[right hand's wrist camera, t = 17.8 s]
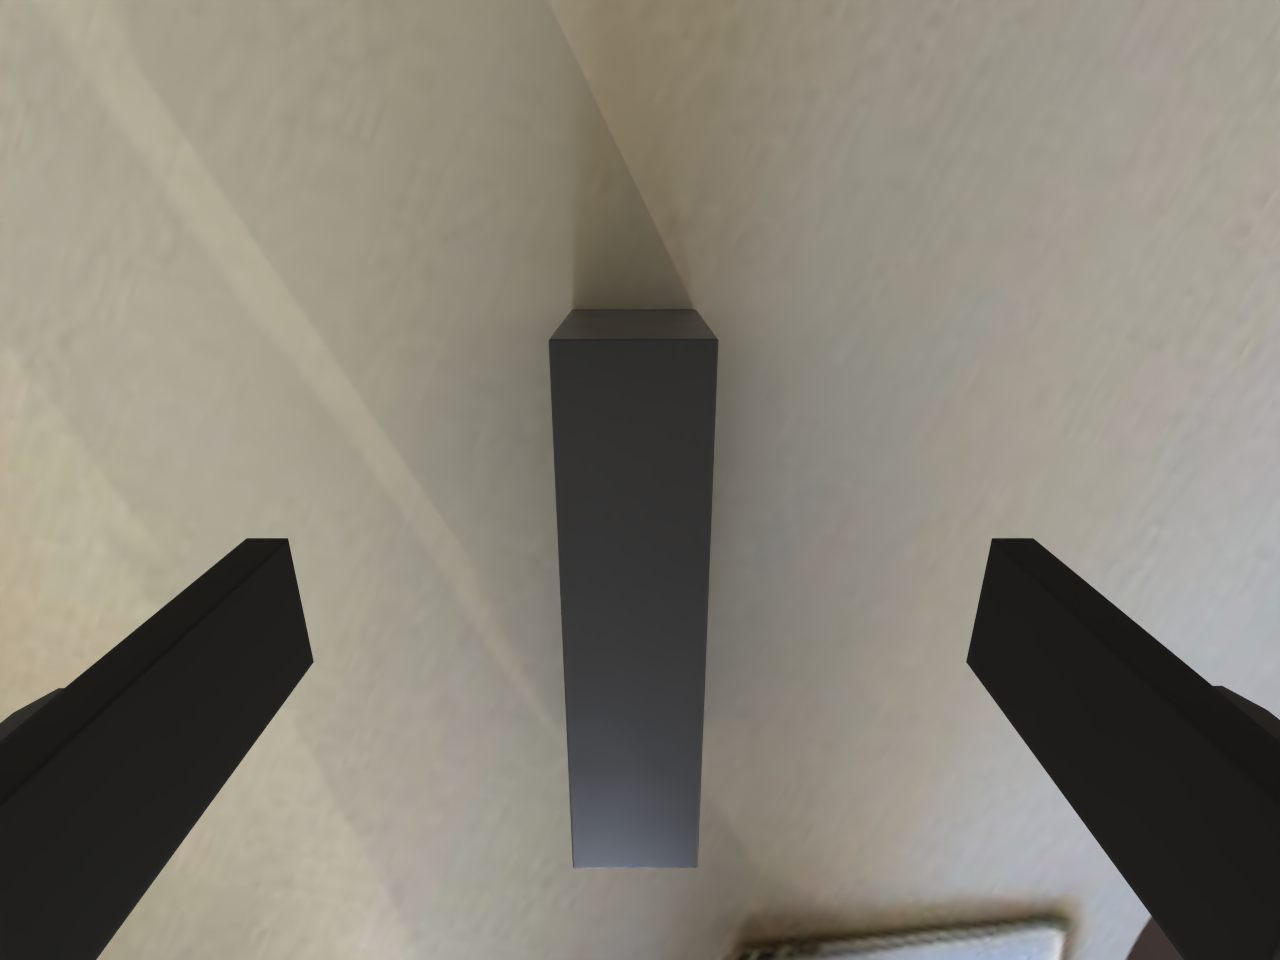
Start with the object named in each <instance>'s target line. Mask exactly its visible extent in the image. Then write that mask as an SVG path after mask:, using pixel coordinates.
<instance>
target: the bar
mask: <svg viewBox="0 0 1280 960" xmlns="http://www.w3.org/2000/svg"><path fill="white" fill-rule="evenodd" d="M549 357H550V379H551V400H552V422H553V444H554V465H555V487H556V509H557V530H558V552H559V573H560V595H561V617H562V638H563V660H564V682H565V703H566V725H567V747H568V768H569V790H570V812H571V833H572V855H573V868H696V867H697V866H698V845H699V820H700V794H701V769H702V743H703V718H704V692H705V667H706V641H707V616H708V591H709V565H710V540H711V514H712V489H713V463H714V438H715V412H716V387H717V362H718V339H717V338H716V336H715V335H714V334H713V332H712V331H711V330H710V328H709V327H708V326H707V324H706V323H705V322H704V320H703V319H702V318H701V316H700V315H699V314H698V312H697V311H696V310H572V311H571V312H570V313H569V315H568V316H567V317H566V319H565V320H564V321H563V322H562V324H561V325H560V326H559V328H558V329H557V330H556V332H555V333H554V334H553V335H552V337H551V338H550V339H549Z"/></svg>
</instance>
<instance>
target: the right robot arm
mask: <svg viewBox="0 0 1280 960" xmlns="http://www.w3.org/2000/svg"><path fill="white" fill-rule="evenodd" d="M312 663H313V657H312V652H311V647H310V642H309V637H308V633H307V628H306V623H305V618H304V613H303V609H302V604H301V599H300V594H299V589H298V585H297V580H296V575H295V570H294V565H293V561H292V556H291V551H290V546H289V541H288V538H247V539H246V540H244V541H243V542H242V543H241V544H239V545H238V546H237V547H236V548H235V549H233V550H232V551H231V552H230V553H229V554H227V555H226V556H225V557H224V558H222V559H221V560H220V561H219V562H218V563H216V564H215V565H214V566H213V567H211V568H210V569H209V570H208V571H207V572H205V573H204V574H203V575H202V576H201V577H199V578H198V579H197V580H196V581H194V582H193V583H192V584H191V585H190V586H188V587H187V588H186V589H185V590H184V591H182V592H181V593H180V594H179V595H177V596H176V597H175V598H174V599H173V600H171V601H170V602H169V603H168V604H166V605H165V606H164V607H163V608H162V609H160V610H159V611H158V612H157V613H156V614H154V615H153V616H152V617H151V618H149V619H148V620H147V621H146V622H145V623H143V624H142V625H141V626H140V627H139V628H137V629H136V630H135V631H134V632H132V633H131V634H130V635H129V636H128V637H126V638H125V639H124V640H123V641H121V642H120V643H119V644H118V645H117V646H115V647H114V648H113V649H112V650H111V651H109V652H108V653H107V654H106V655H104V656H103V657H102V658H101V659H100V660H98V661H97V662H96V663H95V664H94V665H92V666H91V667H90V668H89V669H87V670H86V671H85V672H84V673H83V674H81V675H80V676H79V677H78V678H76V679H75V680H74V681H73V682H72V683H70V684H69V685H68V686H67V687H66V688H58V689H56V690H55V691H53V692H51V693H49V694H47V695H45V696H44V697H42V698H40V699H38V700H36V701H34V702H32V703H31V704H29V705H27V706H25V707H23V708H21V709H20V710H18V711H16V712H14V713H13V714H11V715H10V716H9V717H8V718H6V719H5V720H4V721H3V722H1V723H0V960H96V959H97V958H98V956H99V955H100V954H101V952H102V951H103V950H104V948H105V947H106V946H107V944H108V943H109V941H110V940H111V939H112V937H113V936H114V935H115V933H116V932H117V930H118V929H119V928H120V926H121V925H122V924H123V922H124V921H125V920H126V918H127V917H128V915H129V914H130V913H131V911H132V910H133V909H134V907H135V906H136V904H137V903H138V902H139V900H140V899H141V898H142V896H143V895H144V893H145V892H146V891H147V889H148V888H149V887H150V885H151V884H152V883H153V881H154V880H155V878H156V877H157V876H158V874H159V873H160V872H161V870H162V869H163V867H164V866H165V865H166V863H167V862H168V861H169V859H170V858H171V857H172V855H173V854H174V852H175V851H176V850H177V848H178V847H179V846H180V844H181V843H182V841H183V840H184V839H185V837H186V836H187V835H188V833H189V832H190V831H191V829H192V828H193V826H194V825H195V824H196V822H197V821H198V820H199V818H200V817H201V815H202V814H203V813H204V811H205V810H206V809H207V807H208V806H209V805H210V803H211V802H212V800H213V799H214V798H215V796H216V795H217V794H218V792H219V791H220V789H221V788H222V787H223V785H224V784H225V783H226V781H227V780H228V778H229V777H230V776H231V774H232V773H233V772H234V770H235V769H236V768H237V766H238V765H239V763H240V762H241V761H242V759H243V758H244V757H245V755H246V754H247V752H248V751H249V750H250V748H251V747H252V746H253V744H254V743H255V742H256V740H257V739H258V737H259V736H260V735H261V733H262V732H263V731H264V729H265V728H266V726H267V725H268V724H269V722H270V721H271V720H272V718H273V717H274V716H275V714H276V713H277V711H278V710H279V709H280V707H281V706H282V705H283V703H284V702H285V700H286V699H287V698H288V696H289V695H290V694H291V692H292V691H293V690H294V688H295V687H296V685H297V684H298V683H299V681H300V680H301V679H302V677H303V676H304V674H305V673H306V672H307V670H308V669H309V668H310V666H311V665H312ZM967 663H968V665H969V666H970V668H971V669H972V670H973V672H974V673H975V674H976V676H977V677H978V679H979V680H980V681H981V683H982V684H983V685H984V687H985V688H986V690H987V691H988V692H989V694H990V695H991V696H992V698H993V699H994V700H995V702H996V703H997V705H998V706H999V707H1000V709H1001V710H1002V711H1003V713H1004V714H1005V716H1006V717H1007V718H1008V720H1009V721H1010V722H1011V724H1012V725H1013V726H1014V728H1015V729H1016V731H1017V732H1018V733H1019V735H1020V736H1021V737H1022V739H1023V740H1024V742H1025V743H1026V744H1027V746H1028V747H1029V748H1030V750H1031V751H1032V752H1033V754H1034V755H1035V757H1036V758H1037V759H1038V761H1039V762H1040V763H1041V765H1042V766H1043V768H1044V769H1045V770H1046V772H1047V773H1048V774H1049V776H1050V777H1051V778H1052V780H1053V781H1054V783H1055V784H1056V785H1057V787H1058V788H1059V789H1060V791H1061V792H1062V794H1063V795H1064V796H1065V798H1066V799H1067V800H1068V802H1069V803H1070V805H1071V806H1072V807H1073V809H1074V810H1075V811H1076V813H1077V814H1078V815H1079V817H1080V818H1081V820H1082V821H1083V822H1084V824H1085V825H1086V826H1087V828H1088V829H1089V831H1090V832H1091V833H1092V835H1093V836H1094V837H1095V839H1096V840H1097V841H1098V843H1099V844H1100V846H1101V847H1102V848H1103V850H1104V851H1105V852H1106V854H1107V855H1108V857H1109V858H1110V859H1111V861H1112V862H1113V863H1114V865H1115V866H1116V867H1117V869H1118V870H1119V872H1120V873H1121V874H1122V876H1123V877H1124V878H1125V880H1126V881H1127V883H1128V884H1129V885H1130V887H1131V888H1132V889H1133V891H1134V892H1135V893H1136V895H1137V896H1138V898H1139V899H1140V900H1141V902H1142V903H1143V904H1144V906H1145V907H1146V909H1147V910H1148V911H1149V913H1150V914H1151V915H1152V917H1153V918H1154V919H1155V921H1156V922H1157V924H1158V925H1159V926H1160V928H1161V929H1162V930H1163V932H1164V933H1165V935H1166V936H1167V937H1168V939H1169V940H1170V941H1171V943H1172V944H1173V946H1174V947H1175V948H1176V950H1177V951H1178V952H1179V954H1180V955H1181V956H1182V958H1183V959H1184V960H1280V720H1279V719H1278V718H1277V717H1275V716H1274V715H1273V714H1271V713H1270V712H1269V711H1268V710H1266V709H1264V708H1262V707H1260V706H1259V705H1257V704H1255V703H1253V702H1251V701H1249V700H1247V699H1246V698H1244V697H1242V696H1240V695H1238V694H1236V693H1234V692H1233V691H1231V690H1229V689H1227V688H1225V687H1223V686H1212V685H1211V684H1210V683H1208V682H1207V681H1206V680H1205V679H1204V678H1202V677H1201V676H1200V675H1199V674H1197V673H1196V672H1195V671H1194V670H1193V669H1191V668H1190V667H1189V666H1188V665H1186V664H1185V663H1184V662H1183V661H1182V660H1180V659H1179V658H1178V657H1177V656H1176V655H1174V654H1173V653H1172V652H1171V651H1169V650H1168V649H1167V648H1166V647H1165V646H1163V645H1162V644H1161V643H1160V642H1159V641H1157V640H1156V639H1155V638H1154V637H1152V636H1151V635H1150V634H1149V633H1148V632H1146V631H1145V630H1144V629H1143V628H1141V627H1140V626H1139V625H1138V624H1137V623H1135V622H1134V621H1133V620H1132V619H1131V618H1129V617H1128V616H1127V615H1126V614H1124V613H1123V612H1122V611H1121V610H1120V609H1118V608H1117V607H1116V606H1115V605H1114V604H1112V603H1111V602H1110V601H1109V600H1107V599H1106V598H1105V597H1104V596H1103V595H1101V594H1100V593H1099V592H1098V591H1096V590H1095V589H1094V588H1093V587H1092V586H1090V585H1089V584H1088V583H1087V582H1086V581H1084V580H1083V579H1082V578H1081V577H1079V576H1078V575H1077V574H1076V573H1075V572H1073V571H1072V570H1071V569H1070V568H1069V567H1067V566H1066V565H1065V564H1064V563H1062V562H1061V561H1060V560H1059V559H1058V558H1056V557H1055V556H1054V555H1053V554H1051V553H1050V552H1049V551H1048V550H1047V549H1045V548H1044V547H1043V546H1042V545H1041V544H1039V543H1038V542H1037V541H1036V540H1034V539H1033V538H992V541H991V546H990V551H989V556H988V561H987V565H986V570H985V575H984V580H983V585H982V589H981V594H980V599H979V604H978V609H977V613H976V618H975V623H974V628H973V633H972V637H971V642H970V647H969V652H968V657H967Z"/></svg>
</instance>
